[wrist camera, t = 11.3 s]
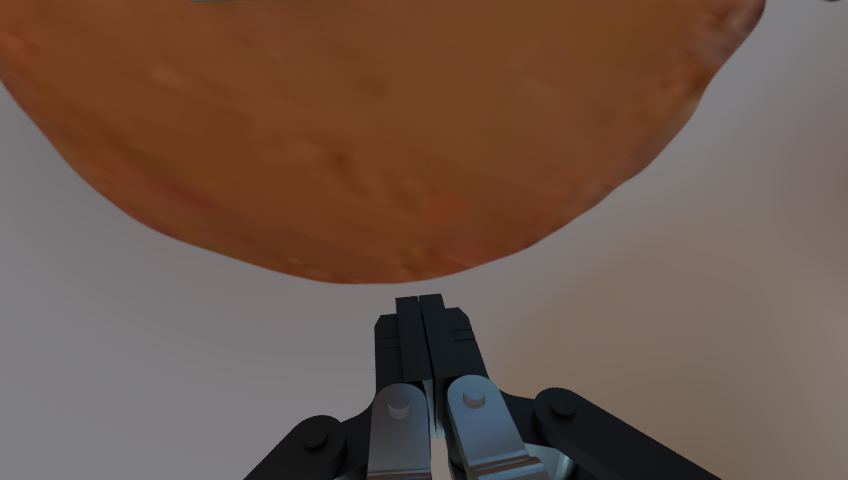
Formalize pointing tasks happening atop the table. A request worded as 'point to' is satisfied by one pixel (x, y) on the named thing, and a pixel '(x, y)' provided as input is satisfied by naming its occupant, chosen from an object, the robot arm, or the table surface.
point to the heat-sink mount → (210, 0)
